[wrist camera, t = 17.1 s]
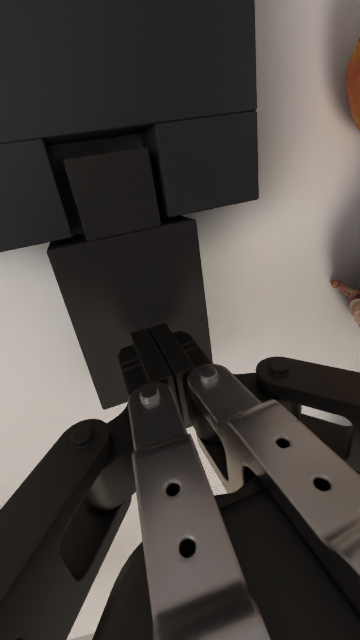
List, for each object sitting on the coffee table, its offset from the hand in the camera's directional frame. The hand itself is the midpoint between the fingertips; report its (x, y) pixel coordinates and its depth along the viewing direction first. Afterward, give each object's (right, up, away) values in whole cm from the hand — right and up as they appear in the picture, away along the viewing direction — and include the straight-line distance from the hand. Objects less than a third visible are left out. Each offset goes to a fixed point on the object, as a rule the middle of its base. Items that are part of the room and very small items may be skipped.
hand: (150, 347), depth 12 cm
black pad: (-1, +3, +3) cm, 4 cm away
